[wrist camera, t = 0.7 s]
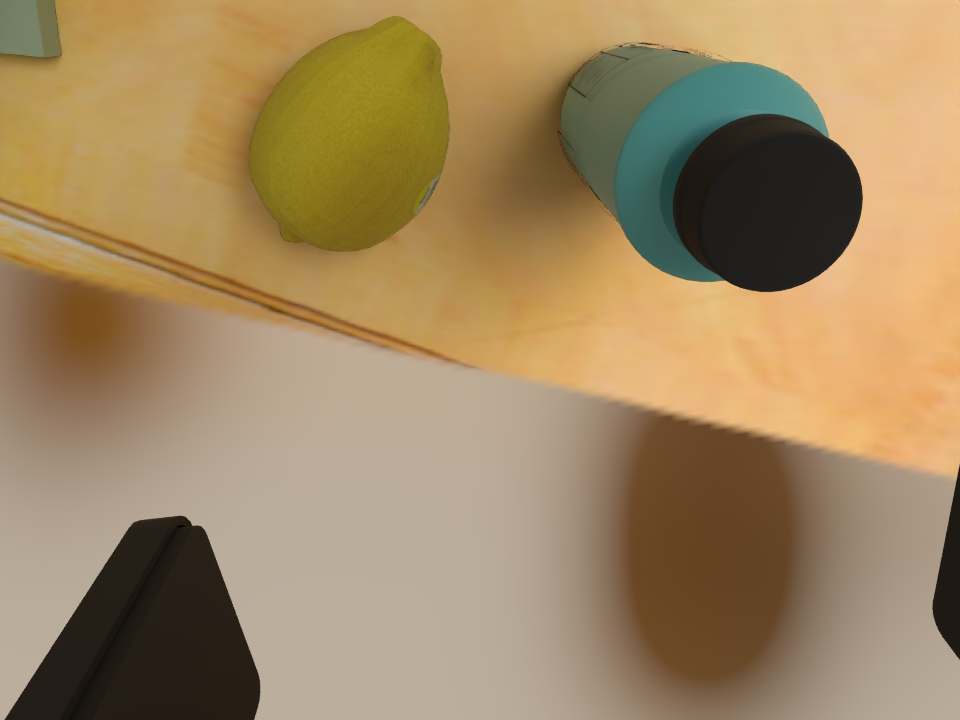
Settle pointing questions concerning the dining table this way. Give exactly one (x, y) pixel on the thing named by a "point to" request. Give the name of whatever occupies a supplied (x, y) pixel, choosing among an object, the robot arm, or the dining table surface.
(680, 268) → the beverage bottle
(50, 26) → the deck plate
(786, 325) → the dining table surface
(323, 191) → the lemon
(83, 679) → the robot arm
